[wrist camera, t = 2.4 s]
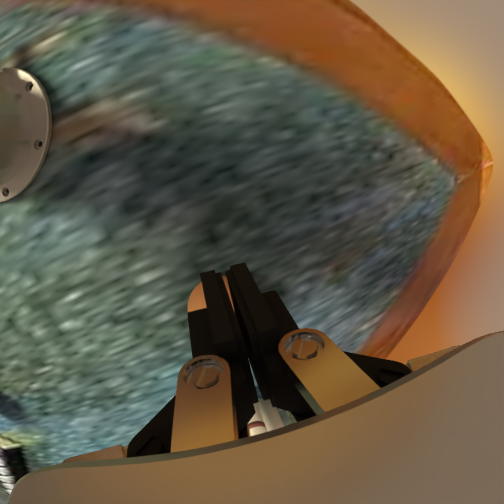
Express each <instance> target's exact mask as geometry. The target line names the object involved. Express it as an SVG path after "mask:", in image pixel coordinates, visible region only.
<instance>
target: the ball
mask: <svg viewBox="0 0 504 504" xmlns="http://www.w3.org/2000/svg"><path fill="white" fill-rule="evenodd" d="M222 277H223V280H224V283H225V286H226V289H227V292H228V295H229V298H230V301H231V304H232V307H233V303H232V299H231V294H230V290H229V285H228V281H227V276H222ZM203 308H207V307H206V302H205V297H204V292H203V287H202V282H200V283H199V284H198V285H197V286H196V287H195V288H194V289H193V291H192V293H191V295H190V297H189V301H188V312H191V311H195V310H199V309H203ZM233 309H234V307H233Z"/></svg>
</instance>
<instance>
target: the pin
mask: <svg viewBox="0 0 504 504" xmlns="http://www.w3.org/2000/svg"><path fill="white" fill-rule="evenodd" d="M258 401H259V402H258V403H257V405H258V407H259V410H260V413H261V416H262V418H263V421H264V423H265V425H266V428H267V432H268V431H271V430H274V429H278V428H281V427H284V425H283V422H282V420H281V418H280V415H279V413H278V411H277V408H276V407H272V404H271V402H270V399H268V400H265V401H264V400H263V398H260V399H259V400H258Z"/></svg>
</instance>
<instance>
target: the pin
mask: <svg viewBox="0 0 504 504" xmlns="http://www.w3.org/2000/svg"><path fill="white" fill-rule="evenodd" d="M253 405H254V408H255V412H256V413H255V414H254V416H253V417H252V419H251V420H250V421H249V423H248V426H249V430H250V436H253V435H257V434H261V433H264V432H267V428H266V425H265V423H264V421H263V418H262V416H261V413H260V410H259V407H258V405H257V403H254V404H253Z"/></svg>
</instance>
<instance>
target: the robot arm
mask: <svg viewBox="0 0 504 504" xmlns="http://www.w3.org/2000/svg"><path fill="white" fill-rule="evenodd" d="M32 86H33V88H32ZM31 88H32V89H31ZM51 132H52V112H51V105H50V101H49V97H48V95H47V93H46V90H45V88H44V86H43V85H42V84H41V82H40V81H39V80H38V78H36V77H35V76H34V75H32V74H31V73H29V72H27V71H24V70H22V69H17V68H3V69H0V202H4V201H7V200H9V199H11V198H13V197H15V196H17V195H18V194H20V193H21V192H23V191H24V190H25V189H26V188H27V187H28V186H29V185H30V184H31V183H32V181H33V180H34V178H35V177H36V175H37V174H38V172H39V170H40V168H41V167H42V165H43V163H44V160H45V157H46V154H47V152H48V149H49V144H50V139H51ZM41 141H42V147H41V146H40V143H41ZM8 190H9V191H8ZM230 269H231V270H228V271H226V276H227V281H228V285H229V290H230V294H231V299H232V303H233V307H234V309H233V307H232V304H231V301H230V298H229V295H228V292H227V289H226V286H225V283H224V280H223V277H222V274H221V272H220V273H216V274H215V270H212V271H208V272H204V273H200V276H201V281H202V287H203V292H204V297H205V302H206V307H207V308H203V309H199V310H195V311H191V312H188V322H189V331H190V340H191V348H192V356H193V359H191V360H189V361H188V362H187V363H186V364H184V365H183V367H182V368H181V369H180V372H179V375H178V381H177V390H176V395H175V396H174V397H173V398H172V399H171V400H170V401H169V402H168V403H167V404H166V405H165V407H164V408H163V409H162V410H161V411H160V412H159V413H158V414H157V415H156V416H155V417H154V418H153V419H152V420H151V421H150V422H149V423H148V424H147V425H146V426H145V427H144V428H143V429H142V430H141V431H140V432H139V433H138V434H137V435H136V436H135V437H134V438H133V439H132V440H131V442H130V443H129V445H128V446H125V447H123V446H122V445H121V444H120V445H116V446H113V447H109V448H106V449H102V450H99V451H95V452H91V453H87V454H83V455H79V456H75V457H71V458H68V459H66V460H64V461H63V462H62V463H61V464H56V465H52V466H47V467H44V468H41V469H38V470H36V471H33V472H31V473H29V474H27V475H25V476H24V477H22V478H20V480H19V481H18V482H17V483H16V484H15V486H14V488H13V490H12V492H11V495H10V498H9V502H8V504H504V331H500V332H495V333H491V334H487V335H484V336H482V337H479V338H476V339H474V340H472V341H470V342H467V343H465V344H463V345H461V346H460V345H459V346H453V347H450V348H447V349H444V350H441V351H438V352H435V353H432V354H428V355H425V356H422V357H418V358H414V359H411V360H408V362H407V364H405V365H404V364H402V363H399V362H396V361H391V360H386V359H380V358H375V357H369V356H364V355H359V354H354V353H349V352H344V351H342V350H341V349H340V348H339V347H338V346H337V345H336V344H335V343H334V342H333V341H332V340H331V339H330V338H329V337H328V336H327V335H325V334H324V333H322V332H321V331H318V330H316V329H309V328H304V329H299V328H298V326H297V325H296V323H295V321H294V320H293V318H292V316H291V315H290V313H289V312H288V310H287V308H286V307H285V305H284V303H283V302H282V300H281V299H280V297H279V295H278V294H277V292H276V291H275V290H273V291H269V292H265V293H262V294H261V292H260V290H259V289H258V287H257V285H256V283H255V281H254V279H253V277H252V275H251V273H250V271H249V269H248V268H247V266H246V264H245V262H244V263H240V264H236V265H232V266H230ZM248 359H249V360H248ZM249 362H250V364H251V367H252V370H253V373H254V376H255V378H256V381H257V384H258V387H259V389H260V392H261V395H262V398H263V400H264V401H265V400H268V399H270V402H271V404H272V407H277V408H280V409H283V410H286V411H287V414H288V416H289V418H290V419H291V421H292V422H293V424H290V425H287V426H284V427H281V428H278V429H274V430H271V431H268V432H264V433H261V434H257V435H253V436H250V430H249V426H248V423H249V421H250V420H251V419H252V417H253V416H254V414H255V413H256V412H255V408H254V405H253V404H254V403H258V402H259V401H258V397H257V393H256V389H255V385H254V381H253V376H252V372H251V368H250V364H249Z"/></svg>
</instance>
